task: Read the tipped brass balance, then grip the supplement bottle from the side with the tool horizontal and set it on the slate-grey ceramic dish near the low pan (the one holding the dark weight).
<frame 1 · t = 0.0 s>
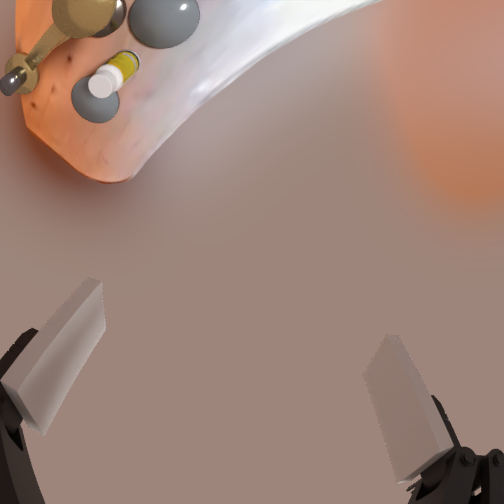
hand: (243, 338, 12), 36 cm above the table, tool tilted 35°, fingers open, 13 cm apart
glossy grey puck: (164, 16, 27), on the table
balance: (103, 12, 25), on the table
supplement bottle: (128, 61, 34), on the table
dish low: (95, 98, 39), on the table
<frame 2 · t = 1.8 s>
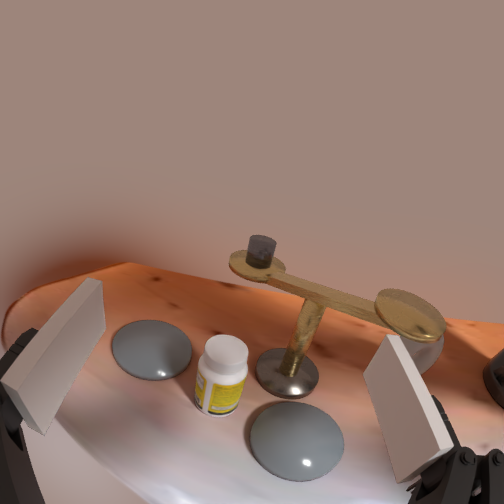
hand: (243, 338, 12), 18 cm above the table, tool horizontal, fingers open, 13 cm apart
donut: (398, 379, 36), on the table
glossy grey puck: (297, 441, 25), on the table
balance: (286, 375, 34), on the table
supplement bottle: (215, 402, 28), on the table
dish low: (151, 350, 33), on the table
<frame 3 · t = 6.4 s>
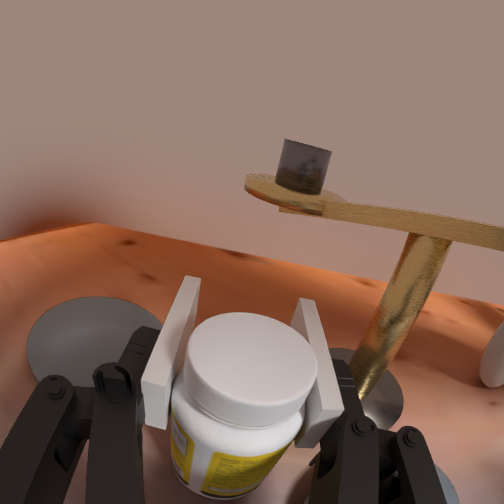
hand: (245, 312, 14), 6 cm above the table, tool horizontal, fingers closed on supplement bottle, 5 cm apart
donut: (487, 383, 19), on the table
balance: (347, 395, 17), on the table
supplement bottle: (217, 463, 12), on the table, touching gripper
dish low: (97, 349, 16), on the table
when the fingers open (8 cm above the table, at t = 10.7 s): supplement bottle drops 1 cm, resting on dish low.
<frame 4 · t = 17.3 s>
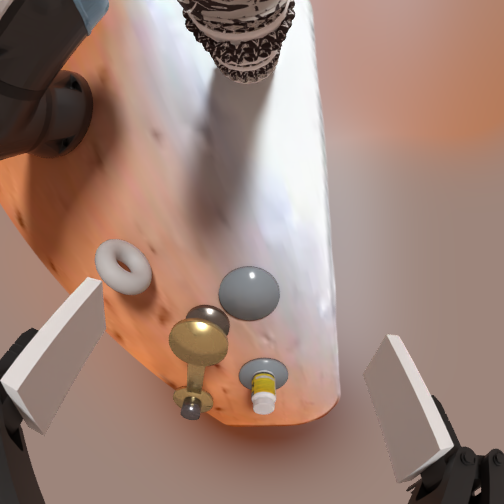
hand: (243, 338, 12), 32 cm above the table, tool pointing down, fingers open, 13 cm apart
donut: (136, 252, 46), on the table
glossy grey puck: (249, 293, 48), on the table
balance: (207, 323, 51), on the table
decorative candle: (247, 57, 33), on the table
supplement bottle: (263, 376, 55), point 1 cm above the table, touching dish low
dish low: (263, 374, 56), on the table
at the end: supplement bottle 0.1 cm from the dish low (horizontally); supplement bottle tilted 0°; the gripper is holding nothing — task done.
